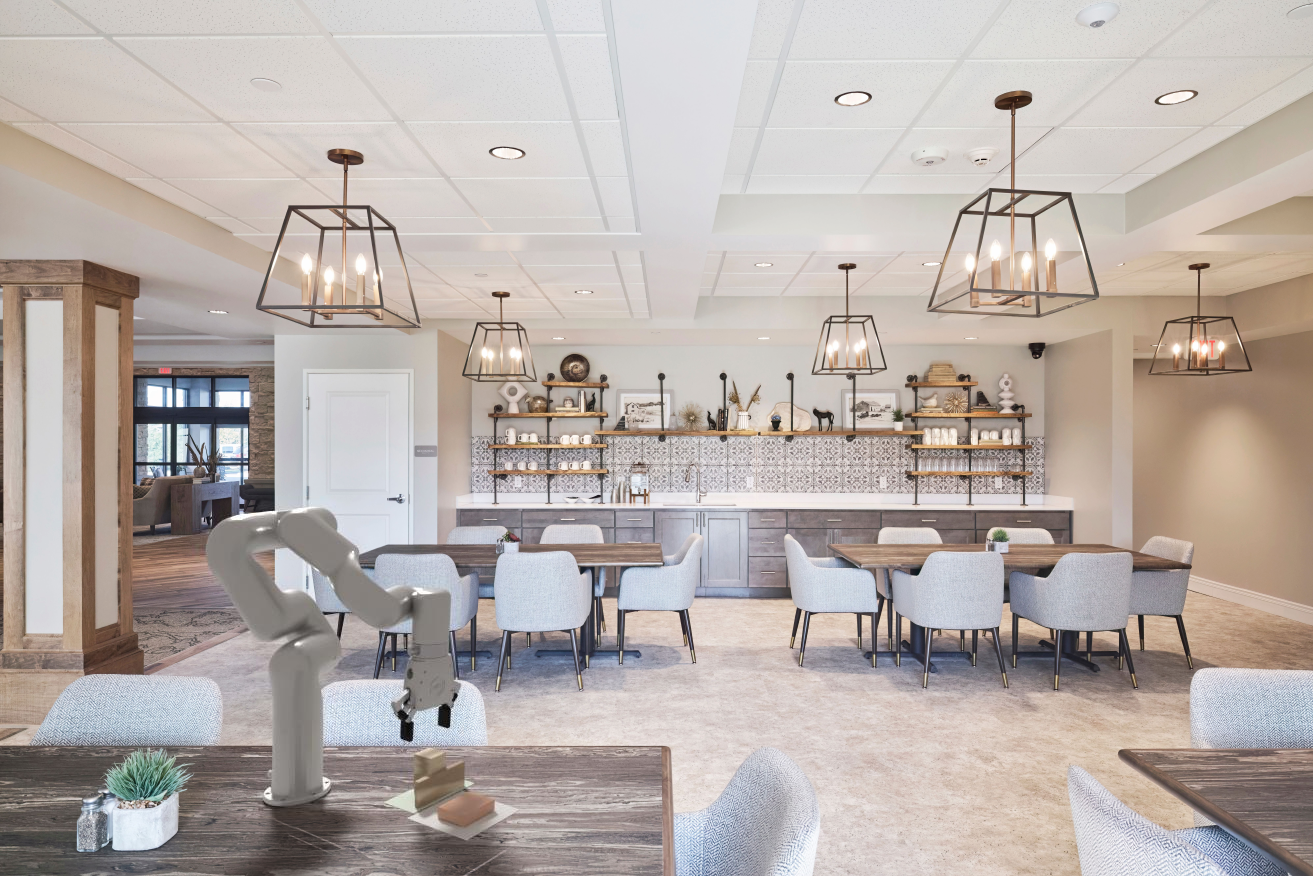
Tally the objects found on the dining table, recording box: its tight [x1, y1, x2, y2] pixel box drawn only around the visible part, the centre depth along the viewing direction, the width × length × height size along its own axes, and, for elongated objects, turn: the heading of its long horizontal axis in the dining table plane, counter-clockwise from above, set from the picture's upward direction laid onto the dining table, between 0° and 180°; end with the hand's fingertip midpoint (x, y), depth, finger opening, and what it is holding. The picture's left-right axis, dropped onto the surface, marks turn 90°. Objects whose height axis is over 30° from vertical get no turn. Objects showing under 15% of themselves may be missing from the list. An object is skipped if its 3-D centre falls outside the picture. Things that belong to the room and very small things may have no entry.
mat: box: [406, 790, 521, 841], centre depth 145 cm, size 16×14×1 cm
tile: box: [438, 791, 496, 827], centre depth 145 cm, size 2×8×7 cm
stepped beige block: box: [413, 747, 466, 808], centre depth 154 cm, size 6×12×8 cm, turn 148°
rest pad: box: [383, 779, 475, 815], centre depth 154 cm, size 9×16×1 cm, turn 148°
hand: (425, 733), depth 155 cm, fingers open, 9 cm apart
